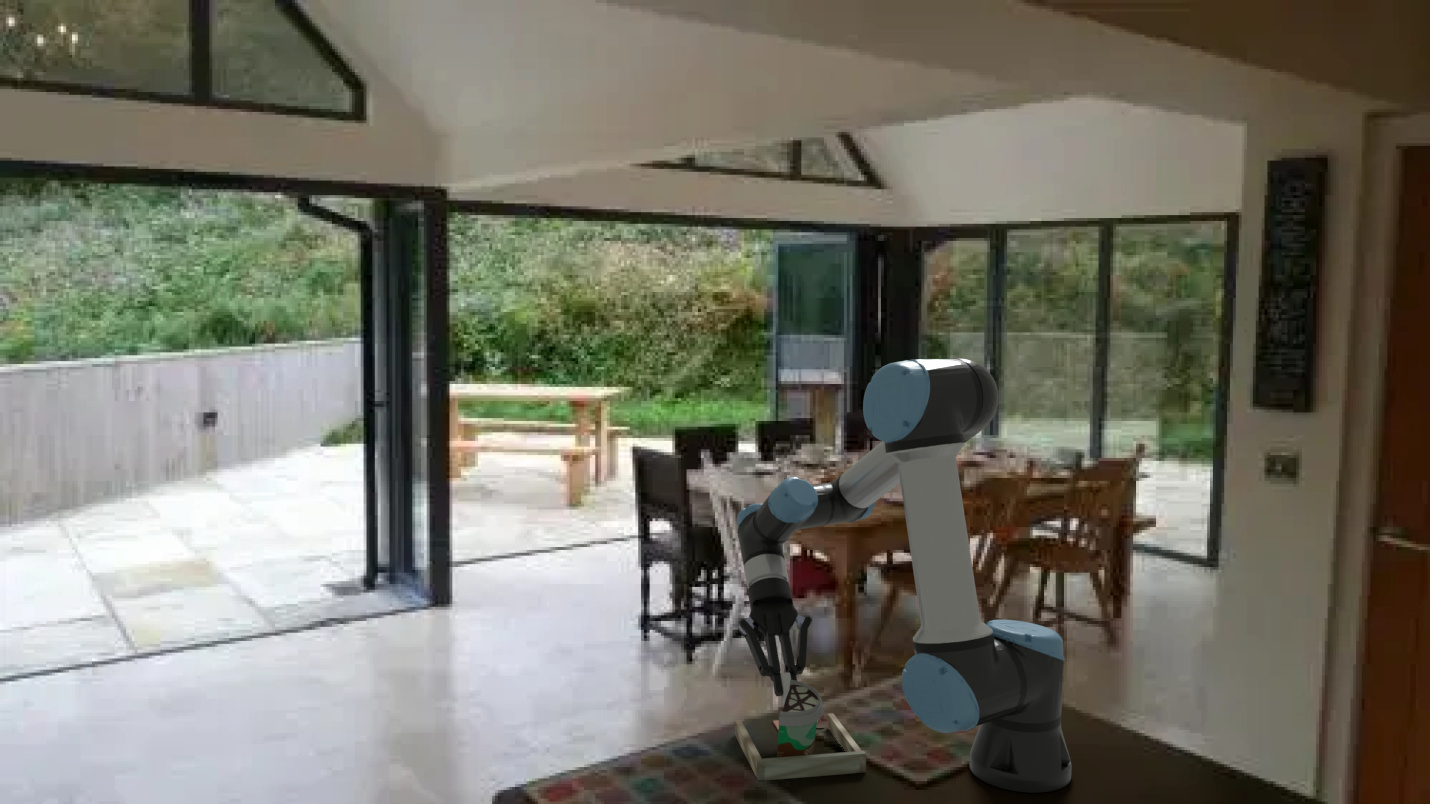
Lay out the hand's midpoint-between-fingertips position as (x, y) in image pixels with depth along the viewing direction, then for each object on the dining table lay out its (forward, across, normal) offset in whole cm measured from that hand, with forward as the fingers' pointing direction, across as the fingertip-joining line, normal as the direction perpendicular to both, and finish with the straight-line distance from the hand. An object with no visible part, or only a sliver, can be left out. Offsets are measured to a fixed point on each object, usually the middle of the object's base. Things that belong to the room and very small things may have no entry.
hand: (790, 713), depth 179 cm
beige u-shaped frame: (+6, 0, -1) cm, 6 cm away
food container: (+8, 0, +1) cm, 8 cm away
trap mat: (-1, -3, -8) cm, 9 cm away
